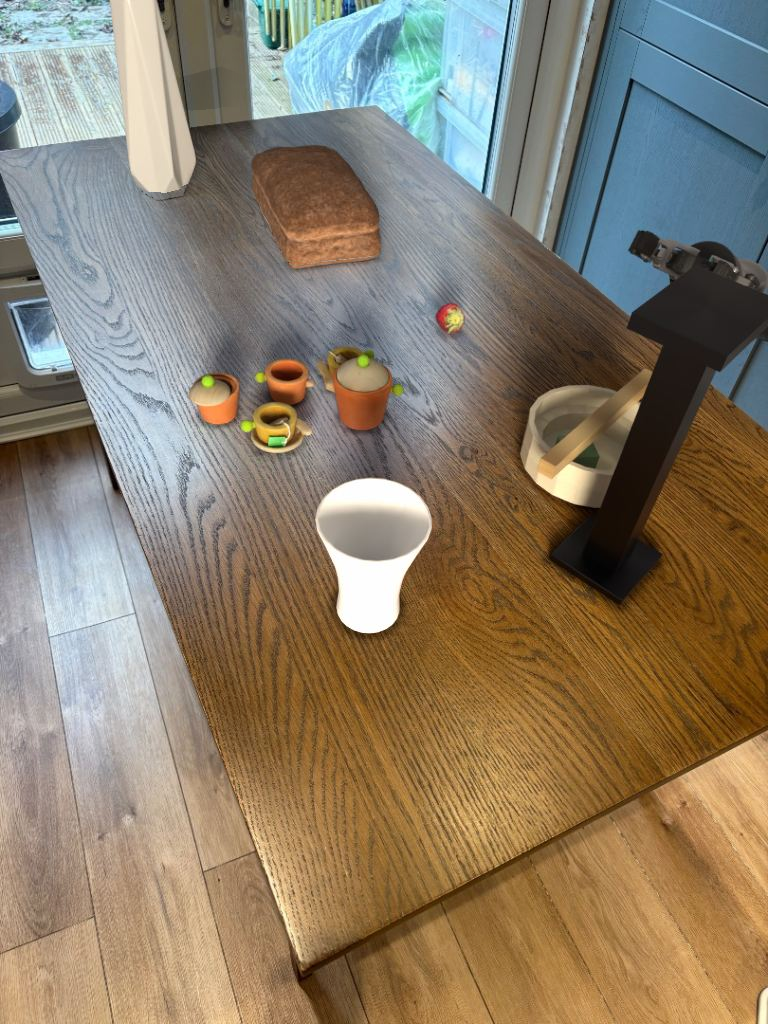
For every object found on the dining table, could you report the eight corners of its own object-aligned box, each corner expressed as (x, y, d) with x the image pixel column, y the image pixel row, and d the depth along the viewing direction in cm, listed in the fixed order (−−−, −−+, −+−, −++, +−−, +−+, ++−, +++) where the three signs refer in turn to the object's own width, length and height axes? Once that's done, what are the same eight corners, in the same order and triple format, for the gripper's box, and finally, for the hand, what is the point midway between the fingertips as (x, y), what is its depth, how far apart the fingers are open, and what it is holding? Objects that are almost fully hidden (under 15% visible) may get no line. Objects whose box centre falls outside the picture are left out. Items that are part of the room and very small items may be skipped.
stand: (593, 515, 88) (689, 262, 65) (662, 557, 84) (791, 304, 61) (541, 566, 82) (626, 309, 59) (612, 614, 78) (734, 358, 55)
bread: (335, 188, 144) (336, 125, 136) (385, 262, 126) (389, 195, 117) (248, 196, 140) (243, 131, 132) (286, 274, 121) (282, 205, 113)
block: (581, 458, 94) (589, 434, 91) (591, 480, 91) (600, 456, 88) (550, 460, 93) (557, 435, 90) (559, 482, 90) (567, 458, 88)
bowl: (649, 434, 99) (664, 398, 94) (653, 523, 88) (670, 486, 83) (525, 412, 100) (534, 375, 96) (513, 496, 89) (523, 459, 85)
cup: (295, 609, 76) (290, 519, 66) (363, 551, 82) (368, 461, 72) (372, 670, 72) (380, 583, 62) (439, 605, 78) (455, 516, 68)
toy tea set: (362, 358, 107) (365, 297, 100) (413, 423, 97) (420, 362, 90) (182, 402, 98) (170, 339, 91) (219, 478, 88) (210, 415, 81)
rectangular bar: (639, 380, 97) (644, 367, 95) (653, 387, 96) (658, 374, 94) (536, 471, 84) (540, 458, 82) (551, 480, 83) (555, 466, 81)
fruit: (455, 317, 115) (459, 288, 112) (467, 339, 111) (472, 310, 108) (429, 320, 114) (432, 290, 111) (440, 342, 111) (444, 312, 107)
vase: (115, 191, 138) (71, -24, 114) (166, 174, 144) (134, -34, 120) (158, 213, 133) (121, -7, 109) (208, 194, 139) (184, -18, 116)
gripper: (672, 228, 94) (637, 197, 81) (782, 271, 88) (764, 245, 74) (642, 286, 97) (603, 264, 83) (747, 331, 91) (723, 316, 77)
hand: (679, 255), depth 79 cm, fingers open, 8 cm apart
